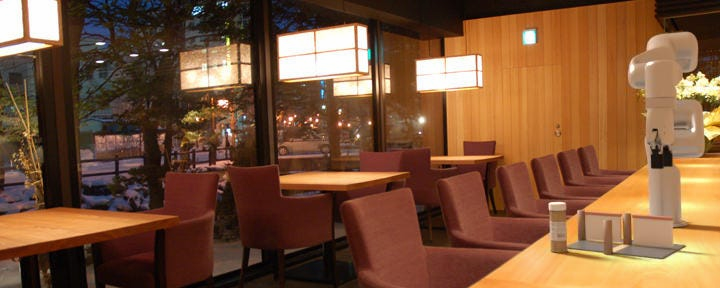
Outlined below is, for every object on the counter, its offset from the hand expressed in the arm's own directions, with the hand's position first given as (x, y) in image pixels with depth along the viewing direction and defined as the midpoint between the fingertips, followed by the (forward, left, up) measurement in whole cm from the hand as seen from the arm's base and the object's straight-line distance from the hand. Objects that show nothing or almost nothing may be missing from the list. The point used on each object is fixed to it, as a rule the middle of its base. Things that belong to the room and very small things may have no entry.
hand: (661, 167), depth 171 cm
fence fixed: (+14, -14, -22) cm, 29 cm away
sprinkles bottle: (+25, -19, -22) cm, 38 cm away
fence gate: (+7, -1, -21) cm, 22 cm away
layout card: (+10, -7, -22) cm, 25 cm away
